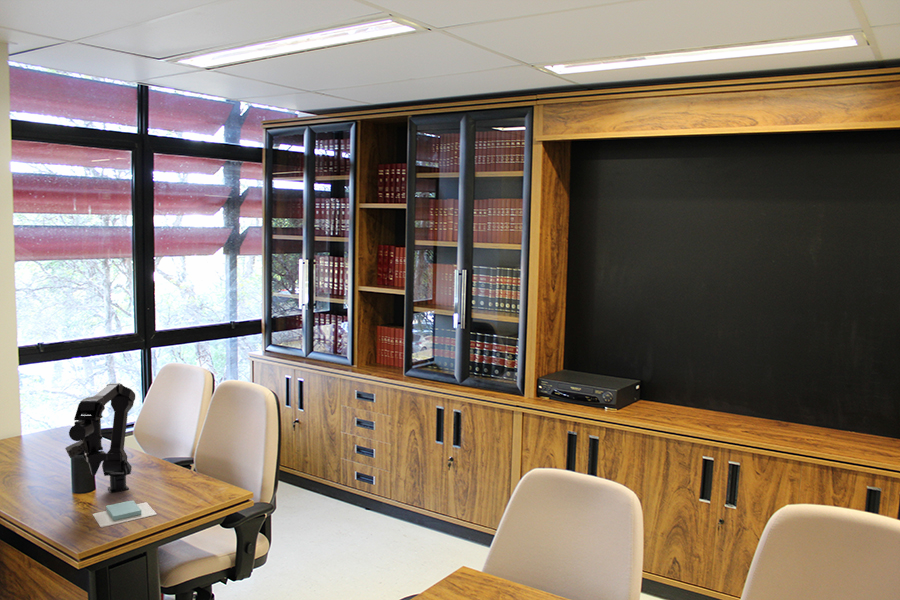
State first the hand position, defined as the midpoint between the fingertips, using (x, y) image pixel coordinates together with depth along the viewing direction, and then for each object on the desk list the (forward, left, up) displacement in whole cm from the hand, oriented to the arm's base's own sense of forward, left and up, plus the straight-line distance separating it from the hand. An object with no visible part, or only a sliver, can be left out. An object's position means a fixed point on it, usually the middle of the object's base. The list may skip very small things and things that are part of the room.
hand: (93, 475), depth 242 cm
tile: (+7, +7, -11) cm, 14 cm away
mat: (+14, +7, -12) cm, 20 cm away
